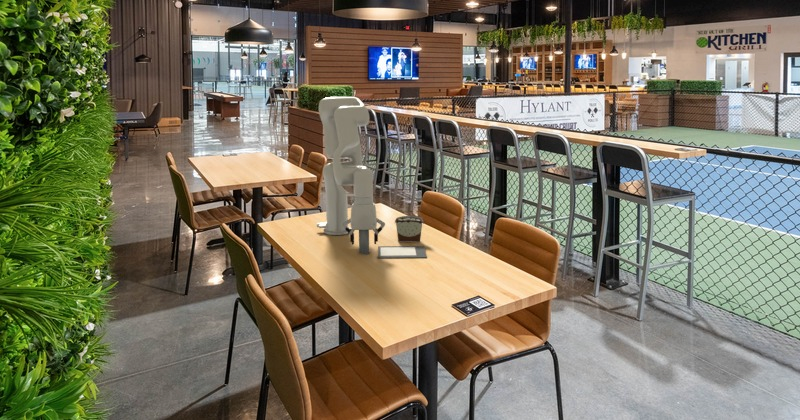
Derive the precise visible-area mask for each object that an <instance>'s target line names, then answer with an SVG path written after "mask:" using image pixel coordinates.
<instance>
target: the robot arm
mask: <svg viewBox="0 0 800 420" xmlns="http://www.w3.org/2000/svg"><path fill="white" fill-rule="evenodd" d="M318 114H319V118H320V120H321V123H322V127H323V136H324V139H323V141H324V151H325V153H324V154H325V155H326V157H327V158H328V159H331V160H332V162H328V163H326V164H325V165H324V166H323V168H322V175H323V181H324V187H325V188H324V189H325V209H326V211H325V214H326V215H325V217H326V221H325V222H317V223H316V228H319V229H323V231H322V232H323V233H324V234H326V235H329V236H342V235H343V236H344V235H347V234H348V235H349V242H350V243H351V245H352V246H353V245H354V244H355V233H354V232H355V231H359V230H369V231H371V230H372V231H373V241H374V243H373V244H374V245H377V242H379V233H380V232H381V231H383V229H384V227H385V226H386V222H384V221H382V220H381V219H379V218H378V217H377V208H376V203H375V202H374V194H373V193H374V179H373V177H374V176H373V175H374V174H373V171H372V169H369V167H368V166H366V165H363V156H362V145H361V139H360V133H359V129H358V127H365V126H368V125H369V123H370V113H369V109H368V108H367V106H366V105H365V104H364V102H363V101H362V100H361V99H360V98H358V97H356V96H330V97H325V98H322V99H321V100H319V103H318ZM342 159H343V160H344V159H349V161H341V160H342ZM345 186H353V197H349V199H350V200H349V201H350V202H353V203H352V204H351V207H350V218H349V216H348V214H349V212H348V211H349V210H348V192H347V190H346V189H345V188H344V187H345ZM349 224H350V227H349ZM378 225H380V226H379V227H378ZM377 227H378V228H377Z"/></svg>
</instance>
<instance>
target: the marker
mask: <svg viewBox="0 0 800 420" xmlns="http://www.w3.org/2000/svg"><path fill="white" fill-rule="evenodd" d="M358 244H359V245H358V254H360V255H368V254H370V230H358Z"/></svg>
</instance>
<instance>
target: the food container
mask: <svg viewBox="0 0 800 420" xmlns="http://www.w3.org/2000/svg"><path fill="white" fill-rule="evenodd" d="M394 224H395V226H396V235H397V241H398V243H401V242H402V243H406V242H407V243H420V242H421V236H422V228H423V225H424V219H423V217H420V216H416V215H402V216H399V217H396V218H395V220H394Z"/></svg>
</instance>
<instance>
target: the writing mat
mask: <svg viewBox="0 0 800 420" xmlns="http://www.w3.org/2000/svg"><path fill="white" fill-rule="evenodd" d="M427 258H428V256H427V251H426V248H425V245H391V246H390V245H384V246H383V245H380V246H379V245H378V247H377V259H427Z"/></svg>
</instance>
